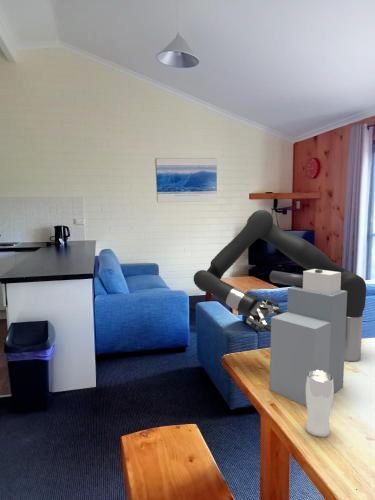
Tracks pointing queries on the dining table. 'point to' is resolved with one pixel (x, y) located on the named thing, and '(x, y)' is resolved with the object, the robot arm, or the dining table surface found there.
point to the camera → (310, 280)
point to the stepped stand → (307, 341)
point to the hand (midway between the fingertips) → (281, 324)
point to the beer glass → (318, 402)
